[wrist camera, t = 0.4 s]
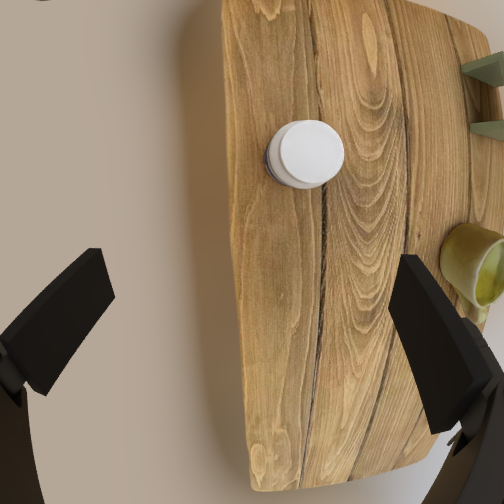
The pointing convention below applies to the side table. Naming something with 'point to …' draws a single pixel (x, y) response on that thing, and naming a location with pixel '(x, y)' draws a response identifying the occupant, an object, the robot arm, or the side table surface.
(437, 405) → the robot arm
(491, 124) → the shelf
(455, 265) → the mug
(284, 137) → the pill bottle
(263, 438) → the side table surface
